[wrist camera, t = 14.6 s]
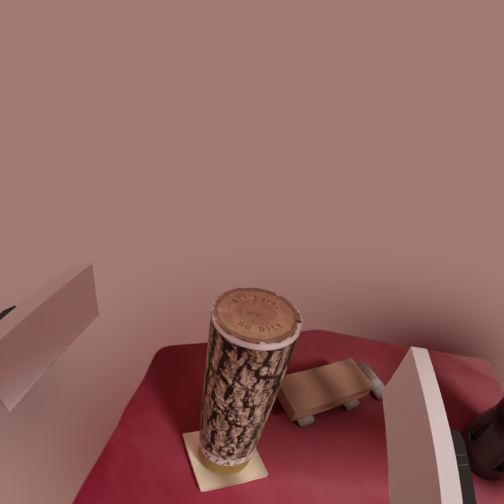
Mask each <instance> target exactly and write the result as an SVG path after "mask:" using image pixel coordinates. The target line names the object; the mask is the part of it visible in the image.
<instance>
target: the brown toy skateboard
mask: <svg viewBox="0 0 504 504" xmlns="http://www.w3.org/2000/svg"><path fill="white" fill-rule="evenodd" d="M384 388H385V385H384V384H383V383H382V382H381V381H380V379H379V378H378V377H377V376H376V374H375V373H374V372H373V371H372V370H371V368H370V367H369V366H368V365H367V364H366V362H362V363H360V364H359V365H357V364H356V363H355V362H354V360H353V359H352V358H350V359H346V360H343V361H339V362H336V363H332V364H329V365H325V366H321V367H317V368H313V369H309V370H305V371H301V372H297V373H293V374H288V375H285V376H284V378H283V381H282V383H281V386H280V389H279V391H278V394H277V397H278V399H279V401H280V403H281V405H282V407H283V408H284V410H285V412H286V414H287V416H288V417H289V419H290V421H295V420H297V421H298V423H299V425H300V426H301V427H306V426H308V425H310V424H312V423H313V422H314V421H315V418H314V417H313V415H314V414H317V413H320V412H323V411H326V410H329V409H332V408H335V407H337V406H340V405H344V406H345V408H346V409H347V410H348V411H350V410H353V409H354V408H356V407H357V406H358V405H359V403H360V402H359V401H358V399H359V398H361V397H364V396H366V395H368V394H369V393H370V391H372V392H373V393H374V395H375V396H376V397H377V398H378V400H382V391H383V390H384Z"/></svg>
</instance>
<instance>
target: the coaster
mask: <svg viewBox="0 0 504 504" xmlns="http://www.w3.org/2000/svg"><path fill="white" fill-rule="evenodd" d="M199 433H200V431H197V432H190V433H183V439H184V443H185V446H186V449H187V453H188V456H189V459H190V462H191V465H192V468H193V471H194V474H195V477H196V480H197V483H198V486H199V489H200V492H203V491H209V490H214V489H219V488H223V487H228V486H232V485H236V484H241V483H245V482H248V481H252V480H256V479H259V478H263V477H266V476H267V475H268V472H267V470H266V468H265V466H264V464H263V462H262V460H261V458H260V456H259V454H258V452H257V449H256V447H255V450H254V452H253V454H252V456H251V458H250V461H249V463H248V464H247V466H246V467H245V468H244V469H243V470H242V471H240V472H238V473H236V474H232V475H220V474H216V473H213V472H211V471H210V470H208V469H207V468H206V467H205V466H204V465H203V464H202V463H201V461H200V458H199V455H198V448H199Z"/></svg>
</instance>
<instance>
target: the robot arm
mask: <svg viewBox="0 0 504 504" xmlns="http://www.w3.org/2000/svg"><path fill="white" fill-rule="evenodd" d="M98 315H99V313H98V307H97V299H96V292H95V284H94V276H93V266H92V263H90V262H87V261H84V260H81V259H78V260H77V261H76V262H74V263H73V264H71V265H70V266H69V267H67V268H66V269H65V270H63V271H62V272H61V273H59V274H58V275H56V276H55V277H54V278H53V279H51V280H50V281H48V282H47V283H46V284H45V285H43V286H42V287H41V288H39V289H38V290H37V291H35V292H34V293H33V294H32V295H30V296H29V297H28V298H27V299H25V300H24V301H23V302H22V303H20V304H19V305H18V306H17V307H16V306H13V307H11V308H9V309H6V310H4V311H3V312H2V313H0V404H1V405H2V406H3V407H4V408H5V409H6V410H8V411H9V412H11V411H12V410H13V408H14V407H15V406H16V405H17V404H18V402H19V401H20V400H21V399H22V398H23V397H24V395H25V394H26V393H27V392H28V390H30V388H31V387H32V386H33V385H34V384H35V383H36V382H37V380H38V379H39V378H40V377H41V376H42V374H44V372H45V371H46V370H47V369H48V368H49V367H50V366H51V365H52V364H53V362H54V361H55V360H56V359H57V358H58V357H59V356H60V355H61V354H62V353H63V352H64V351H65V350H66V348H67V347H68V346H69V345H70V344H71V343H72V342H73V341H74V340H75V339H76V338H77V337H78V336H79V335H80V334H81V333H82V331H83V330H84V329H85V328H86V327H87V326H88V325H89V324H90V323H91V322H92V321H93V320H94V319H95V318H96V317H97V316H98ZM382 399H383V408H384V417H385V428H386V440H387V455H388V475H389V504H477V503H476V499H475V493H474V486H473V480H472V475H471V469H472V470H473V471H474V472H475V473H476V474H477V475H479V476H480V477H482V478H485V479H489V480H494V479H498V478H501V477H502V476H504V397H503V398H502V400H501V401H500V402H499V403H498V404H497V405H495V406H493V407H492V408H490V409H488V410H487V411H485V412H483V413H481V414H480V415H478V416H476V417H475V418H474V419H473V420H472V421H471V422H470V423H469V424H468V425H467V426H466V428H465V429H464V431H463V434H462V436H461V435H460V433H459V431H458V430H450V428H449V424H448V420H447V416H446V412H445V408H444V404H443V400H442V397H441V393H440V390H439V386H438V383H437V379H436V376H435V373H434V370H433V366H432V363H431V360H430V357H429V354H428V351H427V349H423V348H417V347H410V349H409V351H408V352H407V354H406V356H405V357H404V359H403V360H402V362H401V364H400V365H399V367H398V368H397V370H396V372H395V373H394V375H393V376H392V378H391V379H390V381H389V382H388V384H387V385H386V387H385V388H384V390H383V391H382ZM470 468H471V469H470Z"/></svg>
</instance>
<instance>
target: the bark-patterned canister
mask: <svg viewBox="0 0 504 504" xmlns="http://www.w3.org/2000/svg"><path fill="white" fill-rule="evenodd" d="M301 327H302V318H301V315H300V312H299V311H298V309H297V308H296V307H295V306H294V305H293V304H292V303H291V302H290V301H289V300H287V299H286V298H284V297H282V296H280V295H278V294H276V293H274V292H271V291H267V290H263V289H257V288H237V289H233V290H229V291H227V292H225V293H223V294H221V295H220V296H219V297H218V298H217V299H216V300H215V302H214V304H213V307H212V312H211V320H210V329H209V338H208V348H207V357H206V367H205V377H204V387H203V398H202V409H201V421H200V433H199V448H198V455H199V458H200V461H201V463H202V464H203V465H204V466H205V467H206V468H207V469H208V470H210V471H211V472H213V473H216V474H220V475H232V474H236V473H238V472H240V471H242V470H243V469H244V468H245V467H246V466H247V464H248V463H249V461H250V458H251V456H252V454H253V452H254V450H255V447H256V445H257V443H258V440H259V438H260V436H261V433H262V431H263V429H264V426H265V424H266V421H267V419H268V416H269V414H270V412H271V409H272V407H273V404H274V401H275V399H276V396H277V394H278V391H279V389H280V386H281V383H282V381H283V378H284V376H285V373H286V370H287V368H288V365H289V362H290V359H291V357H292V354H293V351H294V348H295V346H296V343H297V340H298V337H299V334H300V331H301Z"/></svg>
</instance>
